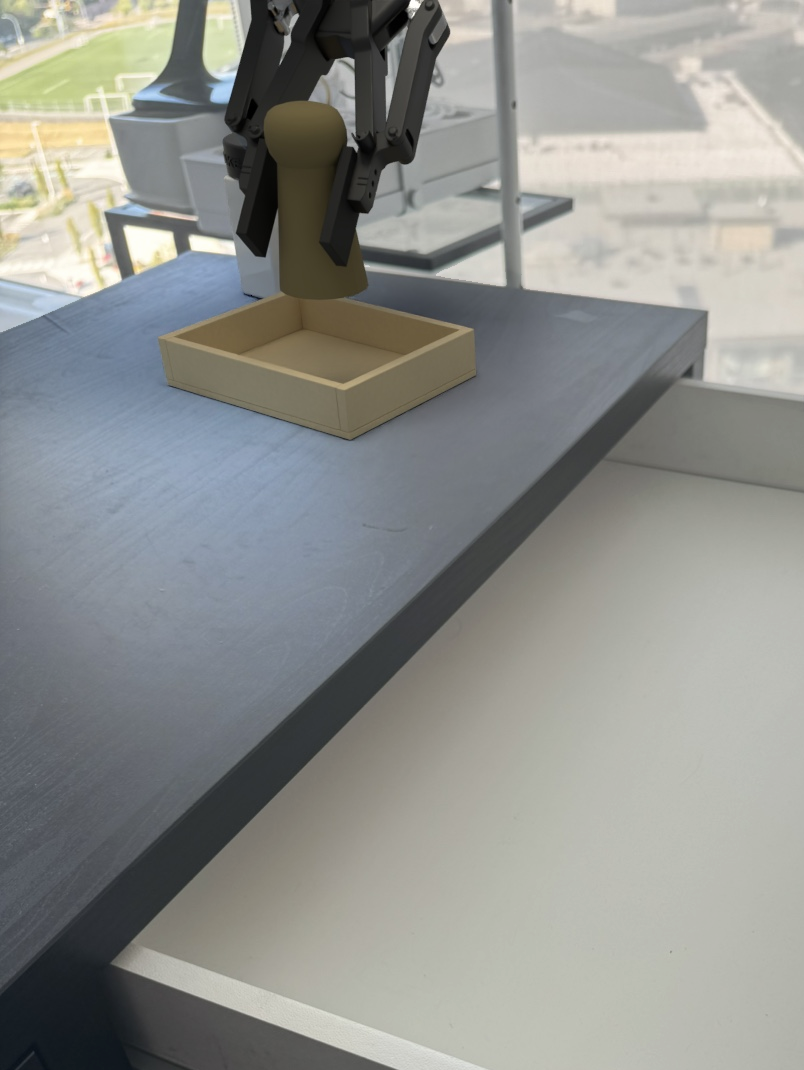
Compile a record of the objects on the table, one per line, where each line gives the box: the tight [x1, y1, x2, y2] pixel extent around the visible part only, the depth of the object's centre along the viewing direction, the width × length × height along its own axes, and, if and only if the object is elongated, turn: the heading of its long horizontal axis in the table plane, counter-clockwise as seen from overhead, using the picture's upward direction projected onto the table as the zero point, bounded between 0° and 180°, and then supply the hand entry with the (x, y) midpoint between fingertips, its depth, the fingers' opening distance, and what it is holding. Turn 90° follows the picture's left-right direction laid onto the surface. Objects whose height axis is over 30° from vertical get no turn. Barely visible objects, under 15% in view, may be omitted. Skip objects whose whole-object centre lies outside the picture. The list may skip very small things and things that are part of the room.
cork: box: [264, 100, 370, 300], centre depth 77 cm, size 6×6×11 cm
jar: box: [222, 132, 282, 299], centre depth 100 cm, size 9×8×12 cm
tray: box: [157, 292, 477, 441], centre depth 86 cm, size 18×15×4 cm
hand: (291, 249), depth 75 cm, fingers closed on cork, 5 cm apart
